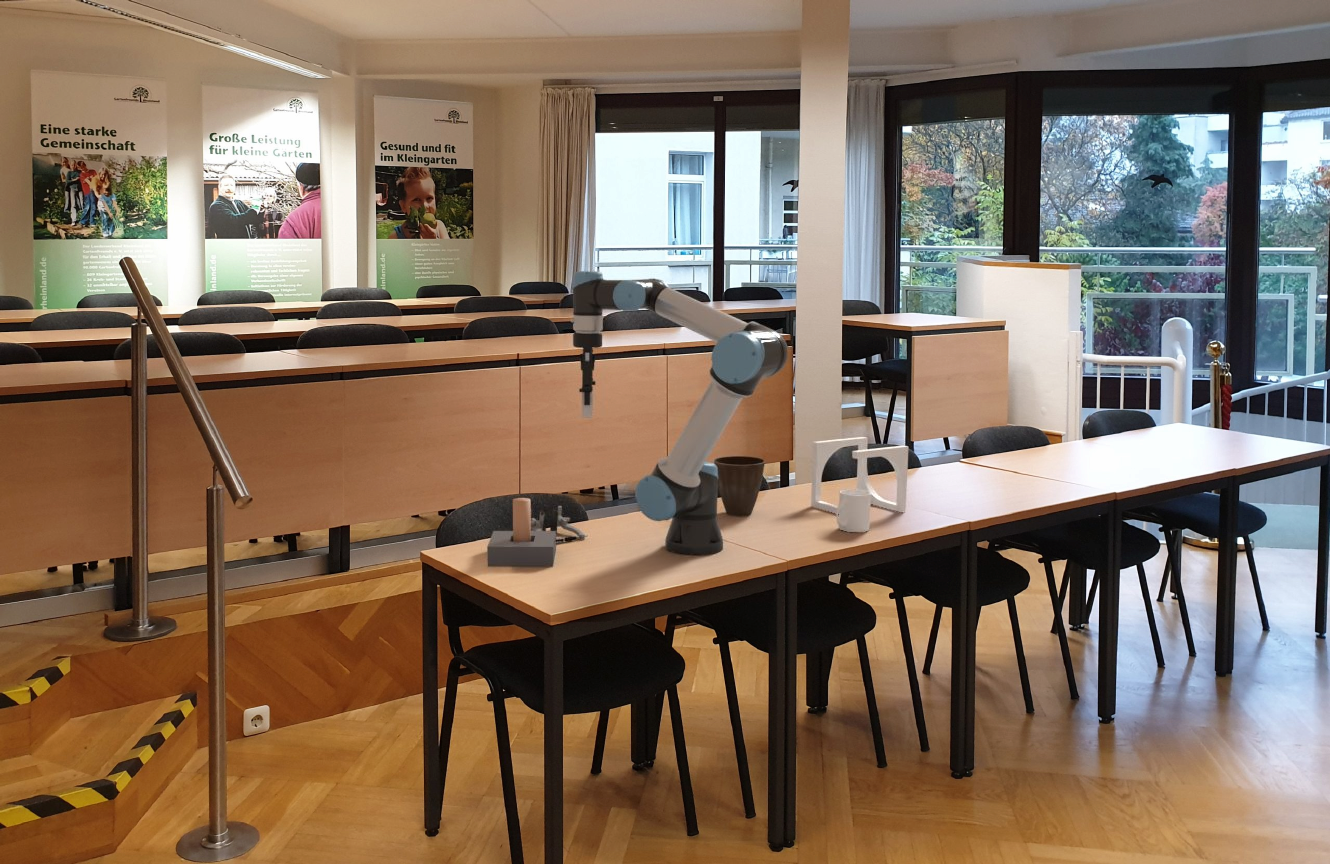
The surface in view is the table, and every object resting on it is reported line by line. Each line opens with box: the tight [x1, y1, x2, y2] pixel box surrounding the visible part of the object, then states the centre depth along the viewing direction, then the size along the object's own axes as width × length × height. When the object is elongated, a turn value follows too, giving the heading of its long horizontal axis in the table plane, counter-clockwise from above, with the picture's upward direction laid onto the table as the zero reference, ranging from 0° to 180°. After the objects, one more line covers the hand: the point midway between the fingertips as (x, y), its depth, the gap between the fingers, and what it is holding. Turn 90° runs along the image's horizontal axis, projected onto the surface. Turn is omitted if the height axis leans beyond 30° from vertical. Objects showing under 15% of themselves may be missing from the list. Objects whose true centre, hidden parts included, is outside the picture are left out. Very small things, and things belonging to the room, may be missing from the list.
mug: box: [835, 488, 871, 533], centre depth 330 cm, size 9×12×11 cm
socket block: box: [486, 530, 557, 568], centre depth 298 cm, size 16×16×5 cm
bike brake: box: [531, 505, 588, 544], centre depth 318 cm, size 14×7×20 cm
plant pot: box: [713, 455, 766, 517], centre depth 349 cm, size 15×15×16 cm
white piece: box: [810, 436, 909, 515], centre depth 357 cm, size 20×20×20 cm
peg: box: [512, 497, 532, 542], centre depth 297 cm, size 4×4×15 cm
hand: (587, 413), depth 307 cm, fingers open, 13 cm apart
